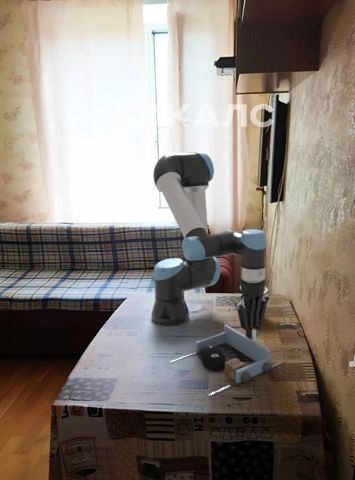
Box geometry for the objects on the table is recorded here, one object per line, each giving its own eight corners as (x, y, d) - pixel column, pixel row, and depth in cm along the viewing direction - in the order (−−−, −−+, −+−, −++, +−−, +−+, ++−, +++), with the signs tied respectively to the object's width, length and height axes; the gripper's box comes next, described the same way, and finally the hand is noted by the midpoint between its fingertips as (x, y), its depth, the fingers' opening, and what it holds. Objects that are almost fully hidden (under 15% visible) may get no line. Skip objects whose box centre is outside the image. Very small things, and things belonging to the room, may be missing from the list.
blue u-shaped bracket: (193, 349, 124) (193, 333, 122) (224, 338, 131) (224, 323, 129) (240, 385, 105) (240, 366, 103) (273, 370, 111) (273, 352, 110)
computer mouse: (206, 374, 111) (205, 362, 110) (197, 353, 123) (197, 342, 122) (230, 371, 112) (230, 359, 111) (219, 350, 124) (219, 340, 123)
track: (169, 361, 118) (169, 361, 118) (240, 335, 133) (240, 335, 133) (209, 396, 101) (209, 396, 101) (285, 362, 116) (285, 361, 116)
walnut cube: (224, 373, 111) (224, 362, 110) (235, 369, 113) (235, 357, 112) (233, 380, 107) (233, 368, 107) (244, 375, 109) (244, 363, 109)
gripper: (245, 287, 110) (244, 358, 115) (276, 278, 116) (274, 345, 122) (229, 280, 116) (228, 347, 121) (259, 271, 123) (257, 336, 128)
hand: (251, 346), depth 122 cm, fingers closed
